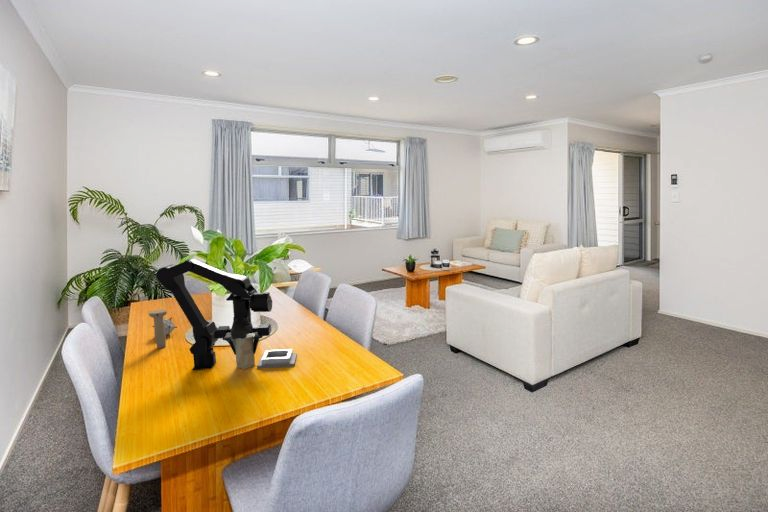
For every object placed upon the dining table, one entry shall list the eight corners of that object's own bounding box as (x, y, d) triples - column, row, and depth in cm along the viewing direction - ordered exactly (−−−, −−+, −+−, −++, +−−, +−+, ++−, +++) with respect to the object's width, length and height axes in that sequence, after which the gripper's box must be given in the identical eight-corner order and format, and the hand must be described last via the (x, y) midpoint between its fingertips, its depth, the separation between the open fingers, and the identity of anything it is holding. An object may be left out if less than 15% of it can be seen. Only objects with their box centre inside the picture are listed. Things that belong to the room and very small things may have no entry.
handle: (169, 347, 172) (166, 312, 170) (151, 350, 170) (148, 314, 168) (170, 343, 177) (167, 309, 175) (153, 346, 174) (149, 311, 172)
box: (243, 369, 149) (241, 339, 148) (236, 366, 152) (233, 337, 150) (255, 364, 154) (253, 335, 152) (248, 362, 156) (246, 333, 155)
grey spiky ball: (162, 343, 189) (154, 323, 191) (181, 333, 192) (173, 314, 194) (156, 339, 181) (147, 319, 183) (176, 330, 183) (167, 310, 186)
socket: (257, 368, 150) (256, 360, 150) (262, 357, 160) (261, 350, 160) (294, 366, 152) (293, 358, 151) (297, 355, 161) (296, 348, 161)
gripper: (207, 320, 141) (211, 364, 143) (265, 317, 143) (268, 361, 145) (217, 310, 152) (220, 352, 154) (270, 308, 154) (272, 349, 156)
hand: (245, 353), depth 152 cm, fingers closed on box, 6 cm apart
